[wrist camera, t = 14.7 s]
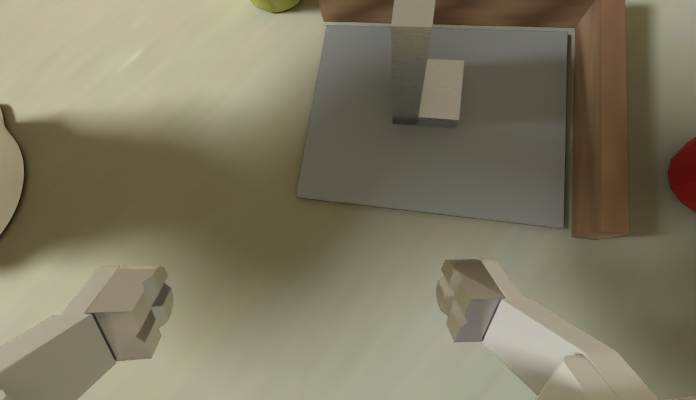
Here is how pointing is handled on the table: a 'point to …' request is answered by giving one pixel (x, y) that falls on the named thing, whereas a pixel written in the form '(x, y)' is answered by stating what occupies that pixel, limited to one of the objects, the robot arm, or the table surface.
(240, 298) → the table surface
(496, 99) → the felt mat
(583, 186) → the corner walls
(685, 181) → the plastic cup
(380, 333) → the table surface
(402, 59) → the steel bookend
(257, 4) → the plant pot
